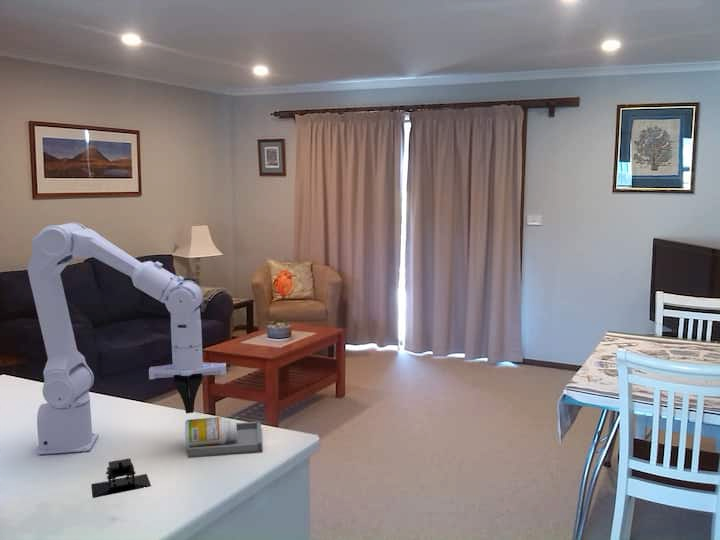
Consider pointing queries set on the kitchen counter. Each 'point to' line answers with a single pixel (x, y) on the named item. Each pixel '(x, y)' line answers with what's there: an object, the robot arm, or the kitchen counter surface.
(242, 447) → the gray tray
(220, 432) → the supplement bottle
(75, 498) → the kitchen counter surface
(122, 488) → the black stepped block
